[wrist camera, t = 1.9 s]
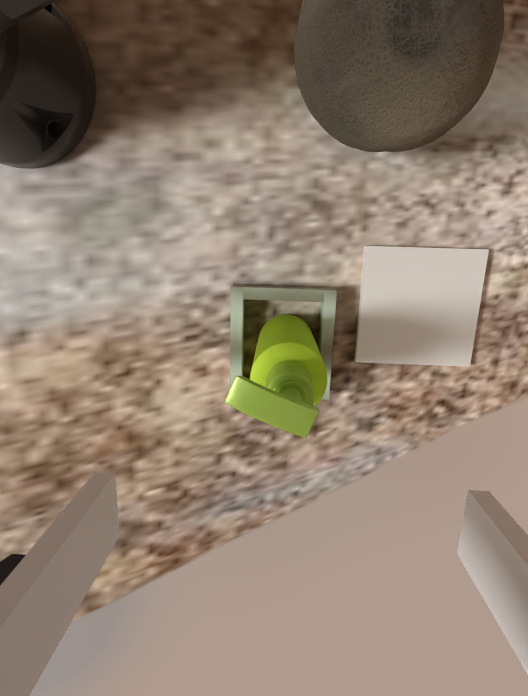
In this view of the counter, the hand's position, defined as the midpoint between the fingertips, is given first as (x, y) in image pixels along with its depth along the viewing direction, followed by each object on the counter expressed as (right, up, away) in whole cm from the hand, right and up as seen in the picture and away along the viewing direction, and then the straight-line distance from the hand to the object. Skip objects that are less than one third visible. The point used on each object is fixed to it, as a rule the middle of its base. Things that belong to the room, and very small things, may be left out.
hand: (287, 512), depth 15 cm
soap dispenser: (+1, +7, +28) cm, 29 cm away
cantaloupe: (+9, +30, +22) cm, 38 cm away
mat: (+15, +10, +26) cm, 32 cm away
